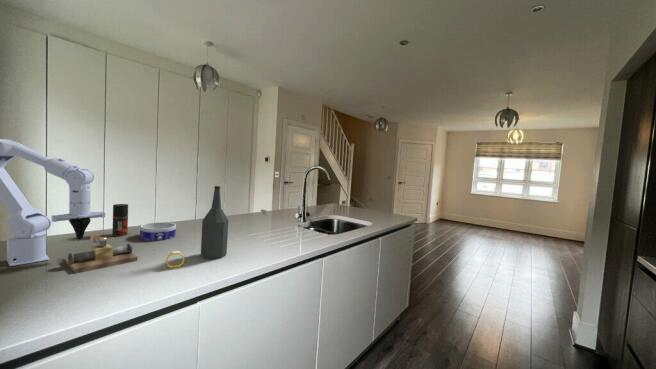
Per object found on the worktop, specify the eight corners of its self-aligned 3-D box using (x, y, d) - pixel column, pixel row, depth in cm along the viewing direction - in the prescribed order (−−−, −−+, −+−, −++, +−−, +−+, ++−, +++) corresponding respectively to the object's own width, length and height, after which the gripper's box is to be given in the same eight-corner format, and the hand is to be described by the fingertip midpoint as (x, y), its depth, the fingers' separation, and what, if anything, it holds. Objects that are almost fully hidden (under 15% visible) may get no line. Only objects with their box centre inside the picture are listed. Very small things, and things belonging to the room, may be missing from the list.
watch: (183, 265, 105) (185, 250, 105) (183, 268, 102) (185, 252, 102) (165, 266, 102) (167, 250, 101) (165, 269, 99) (167, 253, 99)
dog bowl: (172, 231, 147) (172, 220, 147) (178, 239, 136) (179, 227, 135) (138, 234, 138) (138, 223, 137) (141, 243, 126) (142, 230, 126)
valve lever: (107, 246, 102) (108, 238, 101) (99, 247, 100) (99, 239, 99) (98, 239, 108) (98, 232, 108) (89, 240, 106) (89, 233, 106)
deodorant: (114, 237, 130) (115, 206, 129) (110, 234, 134) (111, 204, 133) (129, 235, 135) (130, 205, 134) (125, 232, 139) (125, 203, 138)
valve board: (74, 273, 90) (75, 257, 90) (64, 262, 99) (64, 247, 98) (137, 260, 105) (137, 246, 105) (123, 251, 113) (124, 238, 113)
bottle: (216, 261, 111) (220, 187, 109) (195, 257, 113) (199, 185, 111) (230, 253, 121) (234, 186, 119) (211, 250, 123) (214, 184, 121)
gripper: (54, 205, 92) (54, 244, 93) (108, 202, 104) (107, 237, 105) (50, 202, 96) (50, 240, 97) (102, 199, 108) (101, 233, 109)
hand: (79, 238), depth 101 cm, fingers closed
